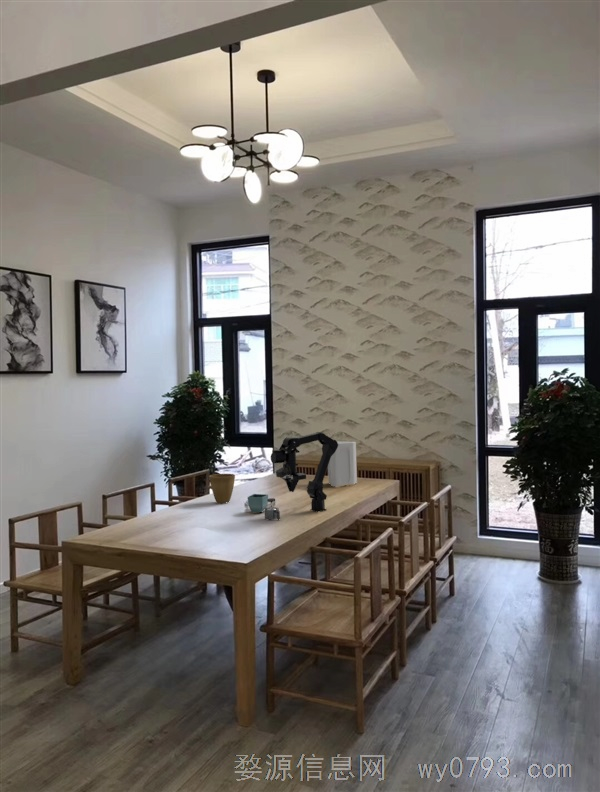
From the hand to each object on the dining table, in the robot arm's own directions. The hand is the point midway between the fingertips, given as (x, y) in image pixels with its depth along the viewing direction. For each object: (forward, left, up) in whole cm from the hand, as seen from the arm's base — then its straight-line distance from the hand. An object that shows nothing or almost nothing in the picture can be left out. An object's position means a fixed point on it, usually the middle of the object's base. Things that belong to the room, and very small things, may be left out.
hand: (291, 491), depth 331 cm
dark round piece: (+13, 0, -8) cm, 15 cm away
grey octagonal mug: (+13, +1, -12) cm, 18 cm away
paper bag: (-76, -49, -12) cm, 91 cm away
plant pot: (+8, -56, -12) cm, 58 cm away
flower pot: (+9, -18, -12) cm, 24 cm away
